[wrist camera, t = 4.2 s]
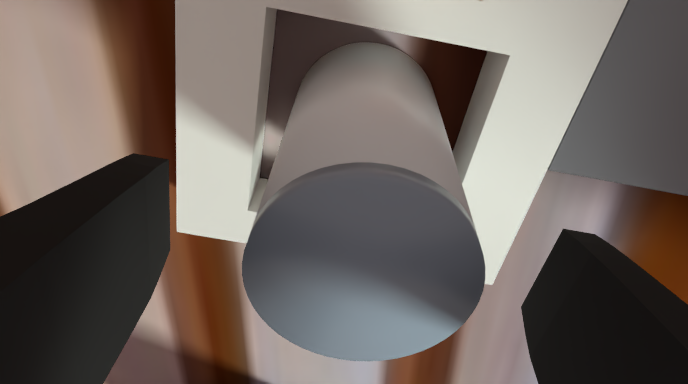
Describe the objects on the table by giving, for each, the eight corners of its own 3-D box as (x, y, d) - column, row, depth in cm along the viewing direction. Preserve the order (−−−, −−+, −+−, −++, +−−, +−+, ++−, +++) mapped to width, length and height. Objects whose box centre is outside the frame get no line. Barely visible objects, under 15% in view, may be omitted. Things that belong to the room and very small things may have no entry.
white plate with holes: (675, -202, 10) (731, -216, 8) (480, 247, 16) (492, 284, 15) (204, -314, 9) (172, -351, 8) (195, 198, 16) (176, 231, 14)
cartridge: (453, 58, 13) (523, 205, 7) (414, 182, 15) (444, 375, 9) (305, 28, 13) (251, 156, 7) (288, 160, 15) (235, 342, 9)
